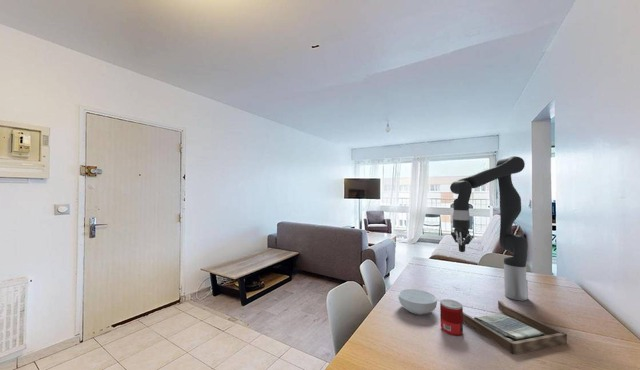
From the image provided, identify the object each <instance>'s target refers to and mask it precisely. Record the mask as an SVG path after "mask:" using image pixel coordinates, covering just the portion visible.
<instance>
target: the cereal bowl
mask: <svg viewBox="0 0 640 370" xmlns="http://www.w3.org/2000/svg"><path fill="white" fill-rule="evenodd" d="M398 300H399V303H400V305H401V307H403V308H404V309H405V310H406V311H409V312H410V313H412V314H414V313H415V315H422V316H423V315H427V314H429V313H432V312H433V311H434V310H436V308H437V304H438V299H437V297H436V295H434V294H433V293H431V292H428V291H426V290H423V289H416V288H405V289H403V290H400V291H399V292H398Z"/></svg>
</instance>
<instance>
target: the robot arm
mask: <svg viewBox="0 0 640 370" xmlns="http://www.w3.org/2000/svg"><path fill="white" fill-rule="evenodd" d="M525 165H526V163H525V160H524V159H523V158H522V157H521V156H508V157H502V158H499V159H498V160H497V162H496V166H495V167H492V168H487V169H484V170H481V171H478V172H476V173H474V174H471V175H470V176H467V177H464V178H460V179H457V180H455V181H453V182H452V183H451V184H450V185H449V186H450V188H449V189H450V192H451V193H453V194H455V195H457V197H456V199H454V200H453V203H452V204H453V206H452V207H453V211H452V220H453V222H452V224H453V225H452V226H453V228H454V229H453V232H450V235H451V237H452V239H453V240H454V243H456V244H458V252H460V253H465V252H466V245H469V244H470V243H471V242H472V240H473V239H474V236H473V235H471V234H470V227H471V225H470V223H471V222H470V221H471V220H470V217H471V216H470V204H469V203H470V200H471V195H472V191H473V189H477V188H480V187H482V186H484V185H487V184H488V183H491V182H493V181H495V180H498V191H499V213H500V214H499V215H500V219H499V220H500V222H499V223H500V225H499V246H500V248H501V249H502V250H504V251H506V252H507V251H508V252H513V256H507V257H504V259H503V273H504V274H503V275H504V276H503V277H504V278H503V279H504V280H503V281H504V296H505V297H507V298H508V299H512V300H514V301H523V302H524V301H527V300H528V299H529V287H528V285H529V284H528V281H529V280H528V279H527V261H528V241H527V238H526V237H525V236H523V235H519V234H512V230H513V229H512V226H513V225H514V223H515V222H516V219H518V217H519V215H520V214H521V211H522V199H521V195H520V193H519V192H518V190H517V189H516V188H515V186H514V185H513V182H512V181H513V180H512V175H513V174H514V175H515V174H519V173H521V172H522V171H523V170H524V169H525V167H526V166H525Z"/></svg>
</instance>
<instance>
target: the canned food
mask: <svg viewBox="0 0 640 370" xmlns="http://www.w3.org/2000/svg"><path fill="white" fill-rule="evenodd" d="M439 306H440V309H439V312H440V313H439V314H440V329H441V331H442V332H444V333H445V334H447V335H449V336H453V337H459V336H462V335H463V333H464V322H463V310H464V309H463V304H462V303H460V302H459V301H456V300H453V299H441V300H440V303H439Z"/></svg>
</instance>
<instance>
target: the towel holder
mask: <svg viewBox="0 0 640 370" xmlns="http://www.w3.org/2000/svg"><path fill="white" fill-rule="evenodd" d="M497 308H498V310H500V312H501V314H504V315H506V316H508V317H510V318H513V319H515V320H517V321H519V322H521V323H524V324H526V325H528V326H530V327H532V328H534V329H536V330H538V331H540V332H542V333H543V334H545V336H541V337H535V338H530V339H525V340H520V341H514V342H512V341H510V340H509V339H507V338H505V337H504V336H502V335H500V334H499V333H497V332H495V331H494V330H492V329H490V328H489V327H487V326H485V325H484V324H482V323H480V322H479V321H477V320H475V319H474V317H472V316H470V315H468V314H467V313H466V312H463V324H465V325H467V326H469V327H470V328H471V329H474V330H475V331H477V332H478V333H480V335H482V336H484V337H486V338H487V339H489V340H490V341H491V342H493V343H495V344H496V345H497V346H499V347H501V348H502V349H504V350H506V352H509V353H510V354H512V355H518V354H524V353H529V352H533V351H539V350H543V349H548V348H553V347H557V346H562V344H563V345H567V344H568V334H567V333H565V332H563V331H561V330H559V329H556V328H555V327H553V326H550V325H548V324H546V323H544V322H542V321H540V320H537V319H536V318H534V317H532V316H529V315H526V314H525V313H522V312H520V311H518V310H516V309H514V308H511V307H509V306H508V305H506V304H505V303H504V302H503V301H502V300H497Z"/></svg>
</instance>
